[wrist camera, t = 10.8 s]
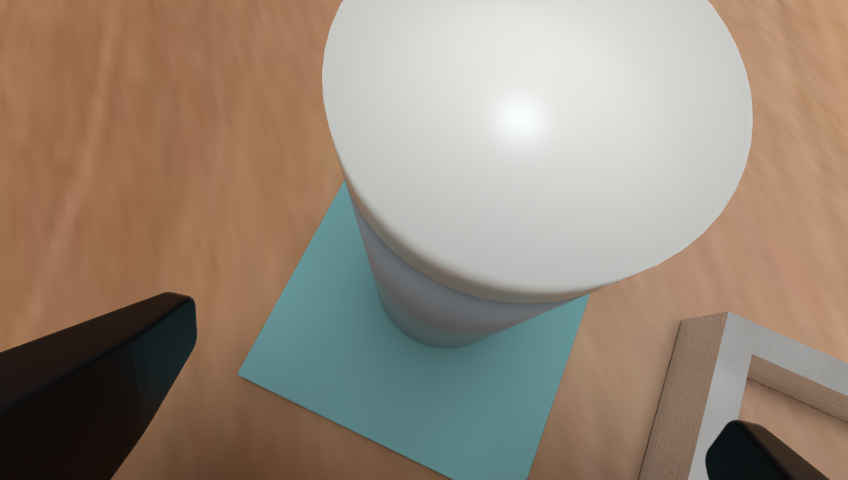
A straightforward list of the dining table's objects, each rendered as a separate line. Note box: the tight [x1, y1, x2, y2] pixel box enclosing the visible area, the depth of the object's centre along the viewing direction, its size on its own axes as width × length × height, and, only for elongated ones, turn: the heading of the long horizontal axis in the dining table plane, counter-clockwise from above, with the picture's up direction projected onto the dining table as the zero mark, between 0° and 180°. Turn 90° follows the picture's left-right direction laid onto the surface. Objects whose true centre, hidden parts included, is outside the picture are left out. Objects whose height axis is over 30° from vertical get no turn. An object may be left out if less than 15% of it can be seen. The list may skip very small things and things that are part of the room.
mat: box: [237, 180, 590, 480], centre depth 17 cm, size 12×10×1 cm
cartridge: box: [322, 0, 753, 348], centre depth 11 cm, size 5×5×12 cm
